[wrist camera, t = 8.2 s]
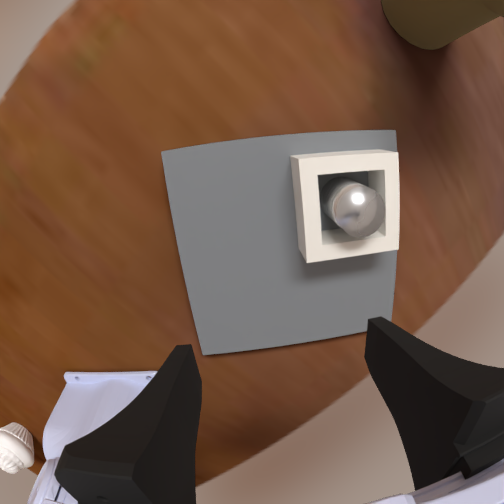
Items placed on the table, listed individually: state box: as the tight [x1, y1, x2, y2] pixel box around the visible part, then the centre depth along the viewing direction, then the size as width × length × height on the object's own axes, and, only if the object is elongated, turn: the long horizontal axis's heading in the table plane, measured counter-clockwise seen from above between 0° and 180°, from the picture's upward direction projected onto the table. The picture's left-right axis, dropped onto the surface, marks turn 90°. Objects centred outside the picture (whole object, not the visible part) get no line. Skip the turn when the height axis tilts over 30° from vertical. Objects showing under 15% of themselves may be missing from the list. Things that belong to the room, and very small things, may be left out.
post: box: [320, 177, 385, 238], centre depth 17 cm, size 3×3×4 cm
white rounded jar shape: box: [0, 423, 34, 474], centre depth 24 cm, size 6×6×7 cm
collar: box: [290, 149, 400, 263], centre depth 18 cm, size 6×6×2 cm
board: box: [161, 130, 397, 355], centre depth 20 cm, size 14×14×1 cm
